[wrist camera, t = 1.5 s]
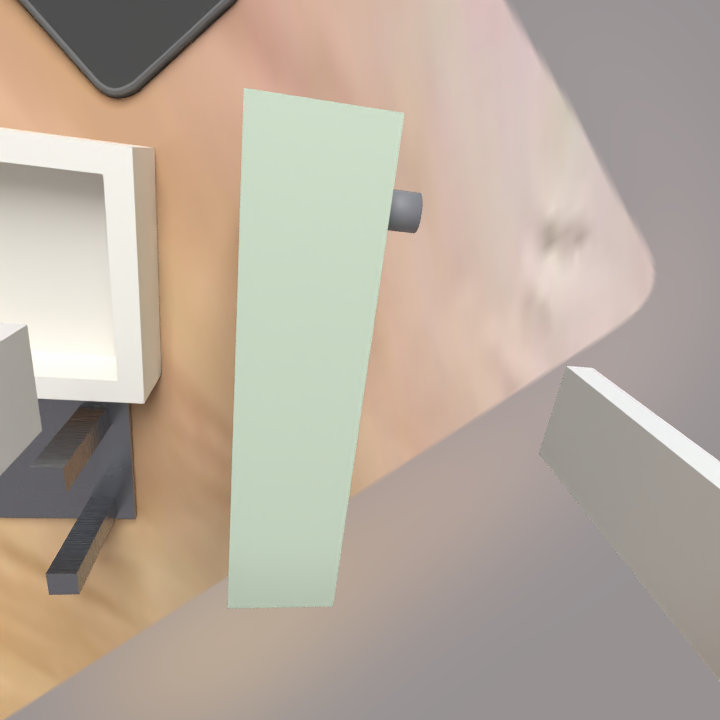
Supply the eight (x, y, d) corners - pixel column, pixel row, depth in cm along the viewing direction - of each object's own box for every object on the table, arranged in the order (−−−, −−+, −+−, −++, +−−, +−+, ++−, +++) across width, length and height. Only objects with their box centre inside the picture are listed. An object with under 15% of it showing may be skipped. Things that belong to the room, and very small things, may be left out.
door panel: (338, 409, 25) (373, 605, 14) (255, 405, 25) (227, 609, 14) (371, 138, 20) (463, 122, 9) (270, 123, 20) (243, 88, 9)
